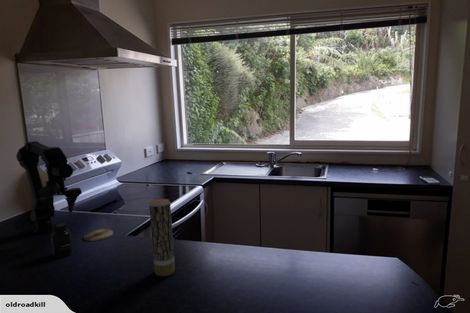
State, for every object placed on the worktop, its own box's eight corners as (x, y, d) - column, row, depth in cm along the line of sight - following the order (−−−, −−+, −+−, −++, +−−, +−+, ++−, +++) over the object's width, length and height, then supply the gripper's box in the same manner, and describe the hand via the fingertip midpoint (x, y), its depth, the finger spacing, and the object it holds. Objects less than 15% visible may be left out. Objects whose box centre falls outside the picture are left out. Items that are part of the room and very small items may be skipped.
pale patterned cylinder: (157, 279, 111) (151, 206, 107) (152, 270, 117) (146, 201, 113) (177, 274, 114) (172, 202, 110) (171, 265, 120) (166, 197, 116)
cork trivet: (77, 239, 147) (77, 237, 147) (96, 229, 158) (96, 227, 158) (100, 242, 143) (100, 240, 143) (118, 231, 154) (118, 230, 154)
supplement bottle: (67, 258, 130) (63, 228, 128) (49, 258, 130) (45, 228, 128) (76, 250, 136) (72, 221, 134) (59, 250, 137) (55, 222, 135)
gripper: (21, 182, 137) (28, 219, 139) (61, 179, 133) (67, 218, 135) (42, 177, 148) (47, 211, 150) (79, 174, 144) (85, 210, 146)
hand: (61, 212), depth 145 cm, fingers open, 9 cm apart
